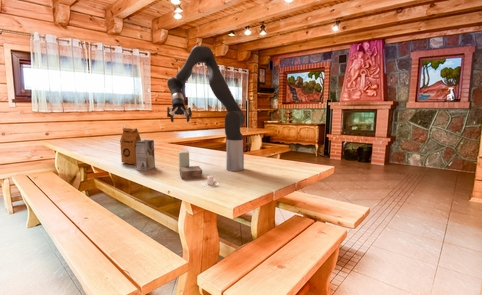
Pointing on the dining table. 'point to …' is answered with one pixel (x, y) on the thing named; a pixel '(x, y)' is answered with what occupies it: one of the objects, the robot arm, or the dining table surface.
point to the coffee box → (145, 154)
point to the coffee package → (129, 145)
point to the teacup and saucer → (210, 181)
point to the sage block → (183, 159)
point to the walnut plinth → (190, 172)
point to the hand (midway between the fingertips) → (180, 121)
